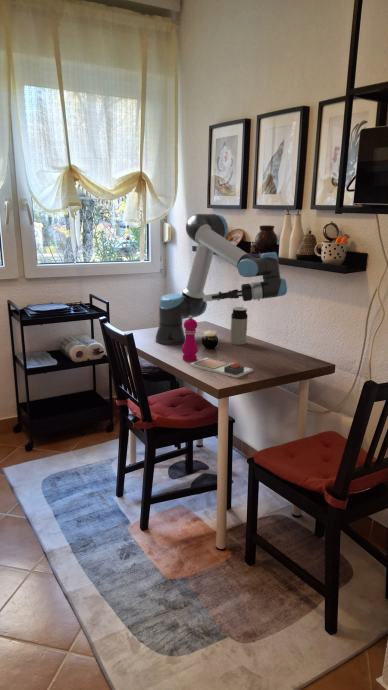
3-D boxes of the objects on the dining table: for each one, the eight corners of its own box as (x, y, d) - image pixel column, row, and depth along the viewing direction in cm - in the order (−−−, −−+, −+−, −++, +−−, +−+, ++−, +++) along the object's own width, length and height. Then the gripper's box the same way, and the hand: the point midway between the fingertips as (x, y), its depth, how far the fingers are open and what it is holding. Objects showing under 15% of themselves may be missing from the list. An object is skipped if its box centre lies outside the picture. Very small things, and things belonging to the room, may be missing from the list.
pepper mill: (196, 362, 222) (197, 317, 216) (179, 361, 223) (180, 316, 218) (198, 357, 228) (200, 314, 223) (183, 356, 230) (184, 313, 224)
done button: (233, 366, 209) (233, 361, 208) (240, 368, 207) (240, 363, 206) (228, 368, 206) (228, 363, 205) (235, 370, 204) (235, 365, 203)
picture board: (206, 359, 226) (207, 352, 225) (252, 371, 212) (253, 363, 211) (190, 365, 217) (190, 358, 216) (236, 378, 202) (237, 370, 202)
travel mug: (228, 344, 253) (229, 308, 248) (232, 340, 260) (234, 306, 256) (243, 346, 250) (245, 310, 246) (247, 342, 258) (249, 307, 253)
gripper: (256, 300, 210) (205, 307, 210) (248, 300, 235) (203, 306, 235) (253, 282, 209) (203, 289, 209) (246, 283, 234) (201, 290, 234)
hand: (203, 298), depth 222 cm, fingers open, 13 cm apart
